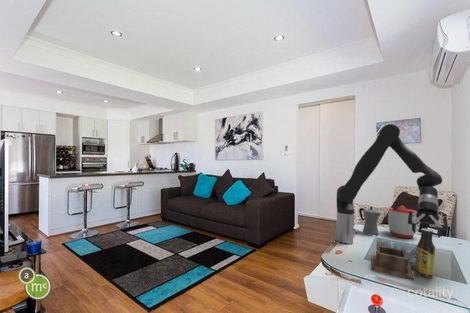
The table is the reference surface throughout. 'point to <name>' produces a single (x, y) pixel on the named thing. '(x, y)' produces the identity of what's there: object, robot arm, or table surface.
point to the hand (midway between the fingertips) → (426, 234)
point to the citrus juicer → (400, 222)
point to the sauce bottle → (425, 254)
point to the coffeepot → (370, 220)
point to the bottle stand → (392, 262)
